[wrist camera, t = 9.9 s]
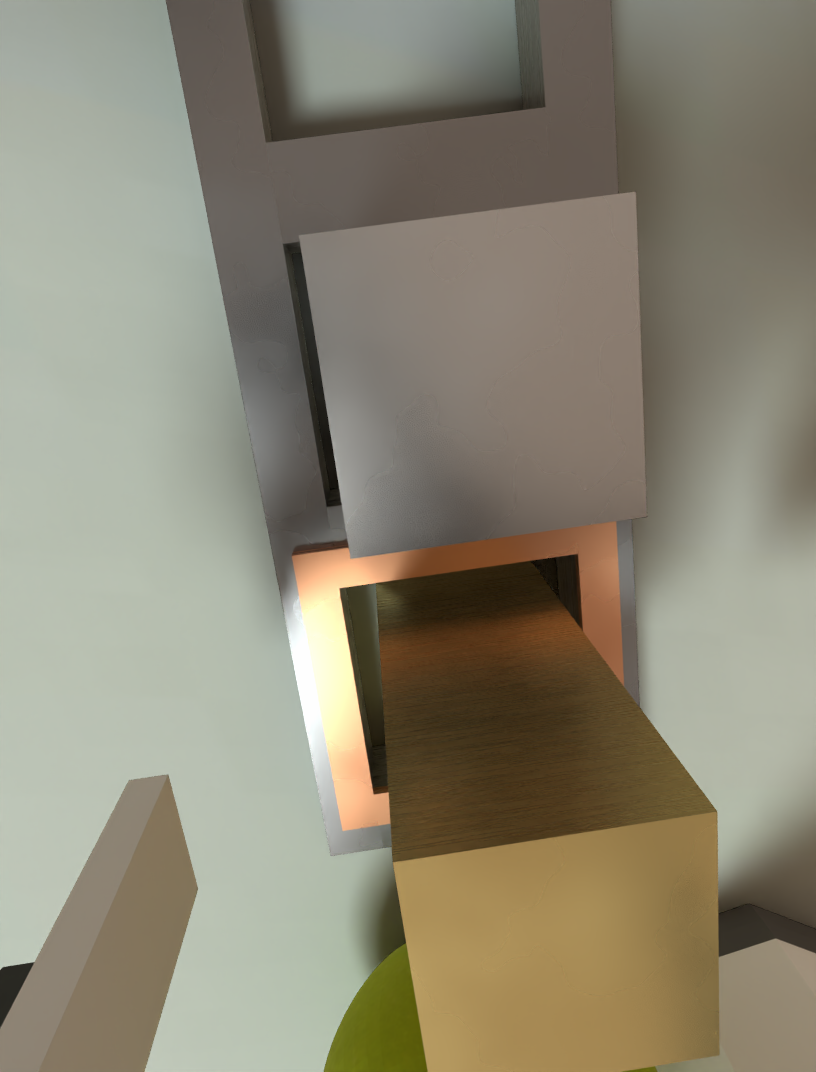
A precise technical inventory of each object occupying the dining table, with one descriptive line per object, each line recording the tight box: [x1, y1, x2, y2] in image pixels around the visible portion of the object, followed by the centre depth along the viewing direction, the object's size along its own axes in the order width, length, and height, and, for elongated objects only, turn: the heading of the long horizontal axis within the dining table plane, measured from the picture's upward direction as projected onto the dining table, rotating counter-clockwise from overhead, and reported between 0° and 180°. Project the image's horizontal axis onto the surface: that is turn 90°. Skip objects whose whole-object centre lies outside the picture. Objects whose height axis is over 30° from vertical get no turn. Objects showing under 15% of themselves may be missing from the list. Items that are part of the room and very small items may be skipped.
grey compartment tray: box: [166, 0, 640, 856], centre depth 17 cm, size 26×9×2 cm, turn 7°
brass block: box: [376, 561, 720, 1072], centre depth 15 cm, size 4×4×11 cm
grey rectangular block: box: [299, 192, 647, 559], centre depth 14 cm, size 4×4×9 cm
